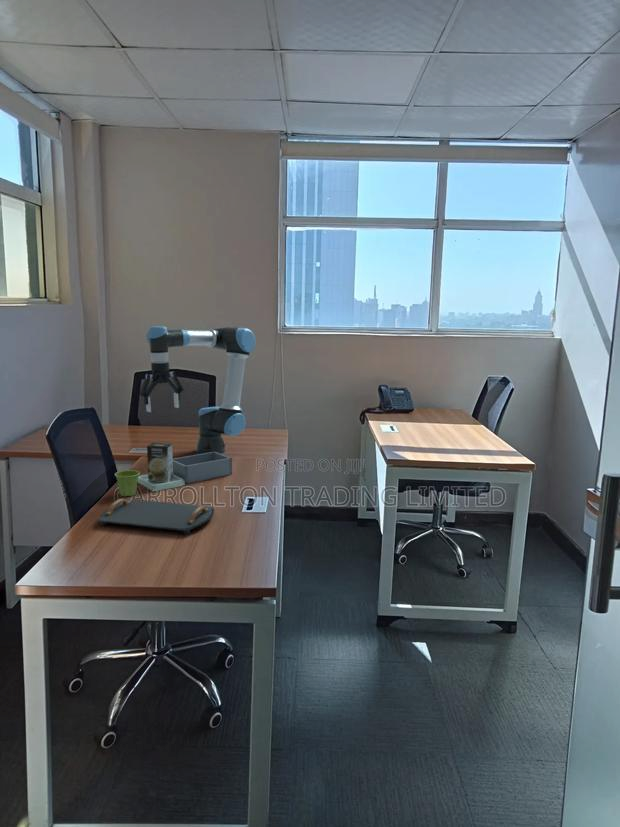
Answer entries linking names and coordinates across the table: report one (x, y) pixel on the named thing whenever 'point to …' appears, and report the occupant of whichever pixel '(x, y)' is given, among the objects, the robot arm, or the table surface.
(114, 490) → the table surface
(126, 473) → the plant pot
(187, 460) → the grey storage bin
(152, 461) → the coffee box
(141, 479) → the tray
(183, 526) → the serving board
